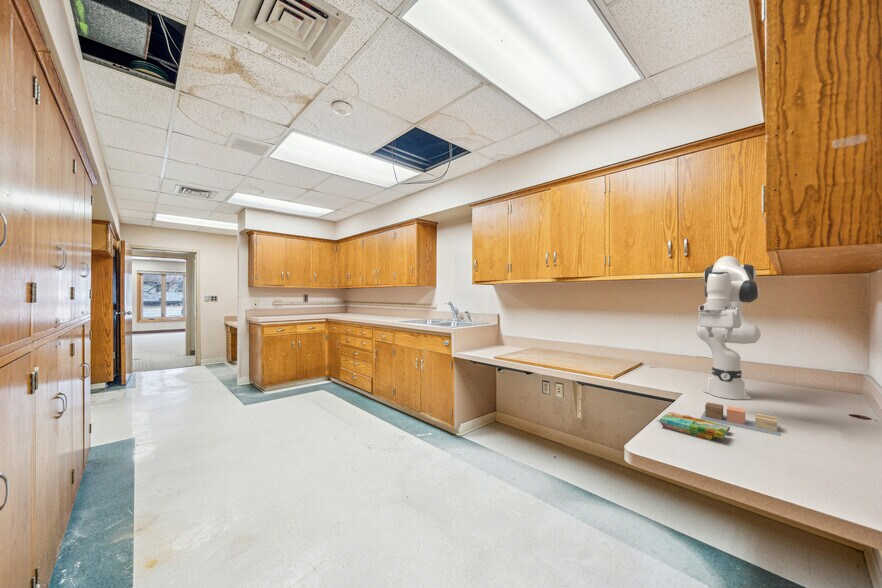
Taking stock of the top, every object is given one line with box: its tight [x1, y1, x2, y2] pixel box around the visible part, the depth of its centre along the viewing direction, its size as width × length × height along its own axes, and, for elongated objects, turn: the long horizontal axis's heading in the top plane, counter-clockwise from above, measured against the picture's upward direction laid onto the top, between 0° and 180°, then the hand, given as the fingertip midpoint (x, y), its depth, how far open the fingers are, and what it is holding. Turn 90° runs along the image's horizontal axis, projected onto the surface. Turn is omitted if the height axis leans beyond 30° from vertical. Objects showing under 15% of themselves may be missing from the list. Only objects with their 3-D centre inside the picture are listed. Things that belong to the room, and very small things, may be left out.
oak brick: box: [755, 413, 778, 432], centre depth 133 cm, size 6×6×4 cm
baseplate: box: [699, 410, 782, 437], centre depth 138 cm, size 13×24×1 cm, turn 46°
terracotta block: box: [726, 405, 746, 425], centre depth 140 cm, size 6×6×5 cm
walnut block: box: [704, 401, 724, 420], centre depth 145 cm, size 6×6×5 cm
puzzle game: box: [659, 411, 731, 441], centre depth 132 cm, size 12×5×20 cm
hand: (718, 338), depth 151 cm, fingers open, 8 cm apart
